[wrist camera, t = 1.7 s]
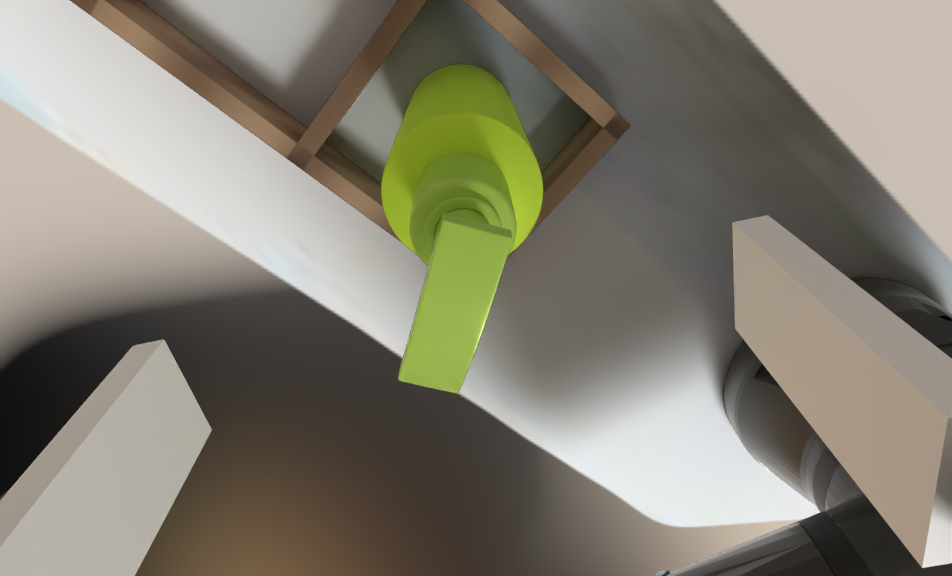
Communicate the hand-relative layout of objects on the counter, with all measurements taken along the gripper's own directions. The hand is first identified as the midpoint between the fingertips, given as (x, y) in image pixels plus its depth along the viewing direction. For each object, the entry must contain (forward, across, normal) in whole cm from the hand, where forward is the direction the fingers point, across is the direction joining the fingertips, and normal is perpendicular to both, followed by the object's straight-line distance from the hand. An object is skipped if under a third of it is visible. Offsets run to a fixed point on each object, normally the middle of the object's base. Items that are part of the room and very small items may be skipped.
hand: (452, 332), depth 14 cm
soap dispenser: (+22, 0, 0) cm, 23 cm away
